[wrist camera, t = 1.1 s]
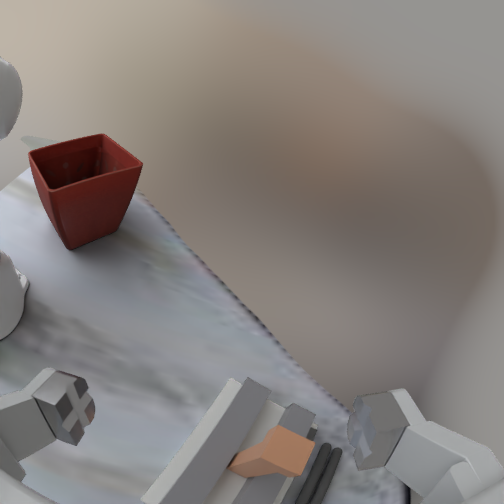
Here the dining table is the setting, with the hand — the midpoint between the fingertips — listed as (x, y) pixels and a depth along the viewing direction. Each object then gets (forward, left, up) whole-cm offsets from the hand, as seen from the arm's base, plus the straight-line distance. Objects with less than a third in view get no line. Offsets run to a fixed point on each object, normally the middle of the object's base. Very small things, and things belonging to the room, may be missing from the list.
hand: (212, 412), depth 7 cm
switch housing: (+8, +6, -33) cm, 35 cm away
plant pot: (-44, +26, -34) cm, 61 cm away
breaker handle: (+8, +6, -32) cm, 33 cm away
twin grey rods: (+20, +6, -33) cm, 39 cm away
